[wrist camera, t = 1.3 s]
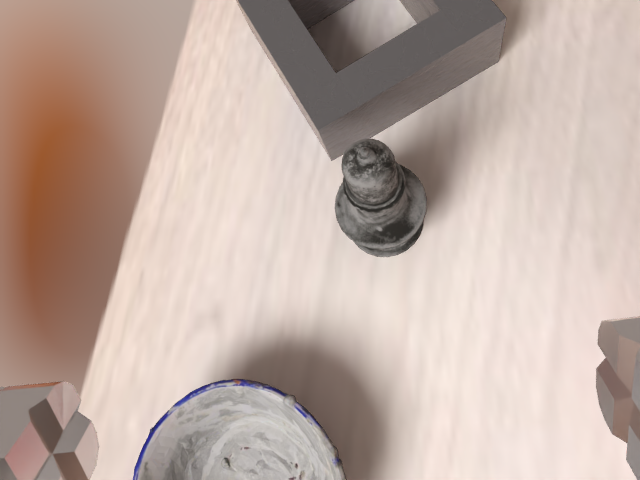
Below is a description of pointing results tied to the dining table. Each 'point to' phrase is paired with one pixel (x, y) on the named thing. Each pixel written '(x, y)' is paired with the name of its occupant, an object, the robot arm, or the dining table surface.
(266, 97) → the dining table surface
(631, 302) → the dining table surface
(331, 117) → the square frame
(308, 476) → the bowl
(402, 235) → the grey chess piece
